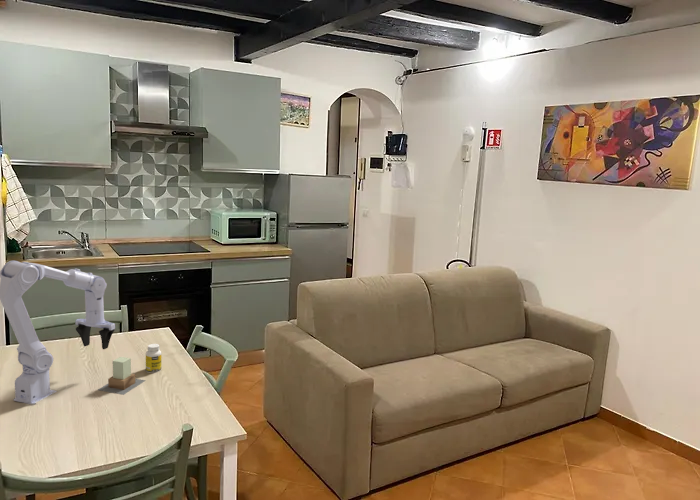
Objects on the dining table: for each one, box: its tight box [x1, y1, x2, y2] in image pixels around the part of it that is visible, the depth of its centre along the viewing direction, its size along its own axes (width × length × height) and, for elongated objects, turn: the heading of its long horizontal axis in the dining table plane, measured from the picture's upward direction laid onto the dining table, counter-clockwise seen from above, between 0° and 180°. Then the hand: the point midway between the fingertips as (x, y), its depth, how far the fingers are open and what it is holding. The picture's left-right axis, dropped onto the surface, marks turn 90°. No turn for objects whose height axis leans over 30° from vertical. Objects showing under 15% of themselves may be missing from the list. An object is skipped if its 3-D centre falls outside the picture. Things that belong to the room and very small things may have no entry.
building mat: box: [97, 378, 146, 396], centre depth 185 cm, size 12×10×1 cm
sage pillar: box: [112, 356, 132, 380], centre depth 184 cm, size 4×4×6 cm
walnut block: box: [107, 373, 136, 390], centre depth 184 cm, size 6×6×3 cm
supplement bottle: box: [145, 343, 162, 374], centre depth 198 cm, size 5×5×10 cm
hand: (95, 346), depth 191 cm, fingers open, 7 cm apart
